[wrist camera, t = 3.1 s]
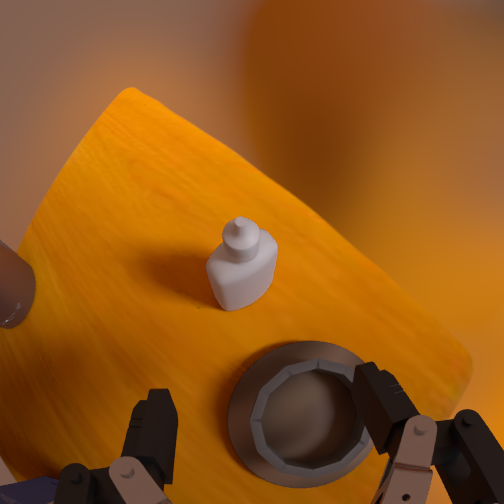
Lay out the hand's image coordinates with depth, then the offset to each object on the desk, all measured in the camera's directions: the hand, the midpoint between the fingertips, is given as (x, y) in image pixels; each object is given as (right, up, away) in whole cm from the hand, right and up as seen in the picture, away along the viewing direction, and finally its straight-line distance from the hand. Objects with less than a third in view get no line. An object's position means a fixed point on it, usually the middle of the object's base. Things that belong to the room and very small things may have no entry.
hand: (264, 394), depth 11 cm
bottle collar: (+4, -9, +12) cm, 15 cm away
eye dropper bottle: (-1, +2, +17) cm, 17 cm away
